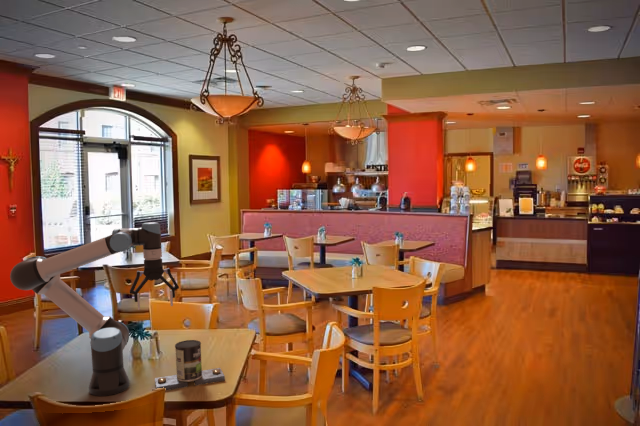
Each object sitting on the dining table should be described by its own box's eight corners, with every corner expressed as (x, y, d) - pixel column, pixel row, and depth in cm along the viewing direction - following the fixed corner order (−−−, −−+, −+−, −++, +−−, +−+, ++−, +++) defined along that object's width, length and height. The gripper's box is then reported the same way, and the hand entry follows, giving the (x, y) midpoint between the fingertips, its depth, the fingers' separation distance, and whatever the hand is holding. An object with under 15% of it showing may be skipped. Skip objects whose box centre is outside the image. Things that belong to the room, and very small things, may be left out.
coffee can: (206, 372, 222) (204, 340, 221) (195, 382, 212) (194, 348, 211) (183, 371, 224) (182, 339, 223) (172, 381, 214) (170, 347, 213)
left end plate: (156, 392, 209) (156, 384, 209) (154, 382, 218) (154, 375, 218) (187, 386, 213) (187, 379, 213) (184, 378, 222) (184, 371, 222)
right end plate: (195, 385, 214) (194, 378, 214) (191, 376, 224) (191, 370, 223) (224, 380, 219) (224, 373, 218) (220, 372, 228) (219, 365, 228)
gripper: (122, 262, 218) (124, 312, 220) (183, 257, 227) (186, 305, 229) (121, 259, 225) (124, 308, 227) (181, 254, 234) (184, 301, 236)
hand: (155, 307), depth 228 cm, fingers open, 13 cm apart
